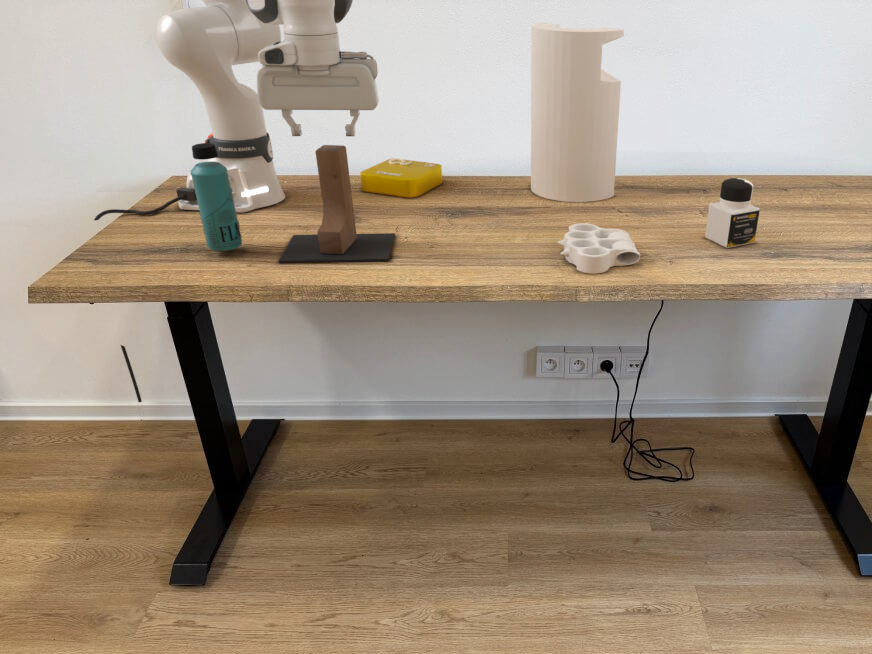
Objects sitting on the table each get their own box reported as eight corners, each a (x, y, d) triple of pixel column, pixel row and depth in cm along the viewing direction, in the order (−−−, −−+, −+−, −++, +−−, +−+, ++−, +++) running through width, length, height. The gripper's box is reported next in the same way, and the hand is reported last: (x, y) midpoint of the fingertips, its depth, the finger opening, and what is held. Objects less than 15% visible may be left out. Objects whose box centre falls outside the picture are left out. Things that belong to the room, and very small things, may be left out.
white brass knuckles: (642, 273, 140) (562, 274, 139) (625, 238, 155) (553, 239, 154) (644, 255, 138) (563, 256, 137) (626, 222, 153) (553, 223, 152)
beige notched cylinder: (539, 180, 189) (615, 195, 180) (513, 191, 181) (591, 207, 172) (541, 22, 171) (625, 29, 161) (512, 27, 163) (599, 34, 153)
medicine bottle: (726, 249, 151) (735, 187, 144) (704, 237, 156) (711, 178, 150) (755, 243, 153) (765, 183, 147) (731, 232, 159) (740, 173, 152)
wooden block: (343, 255, 144) (330, 157, 135) (319, 254, 145) (305, 156, 135) (357, 238, 152) (346, 145, 143) (335, 237, 152) (322, 144, 143)
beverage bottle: (224, 261, 143) (199, 150, 132) (200, 254, 146) (175, 145, 135) (252, 250, 147) (231, 143, 137) (229, 244, 150) (206, 138, 140)
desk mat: (279, 263, 142) (278, 260, 142) (293, 237, 154) (293, 234, 154) (388, 261, 143) (388, 258, 143) (395, 235, 155) (394, 233, 155)
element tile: (358, 191, 180) (356, 170, 178) (392, 175, 192) (390, 155, 190) (414, 199, 176) (412, 178, 173) (445, 182, 187) (444, 162, 185)
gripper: (377, 49, 134) (384, 131, 141) (256, 47, 132) (270, 131, 140) (373, 54, 128) (381, 140, 136) (247, 53, 127) (262, 139, 134)
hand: (324, 135), depth 138 cm, fingers open, 8 cm apart
